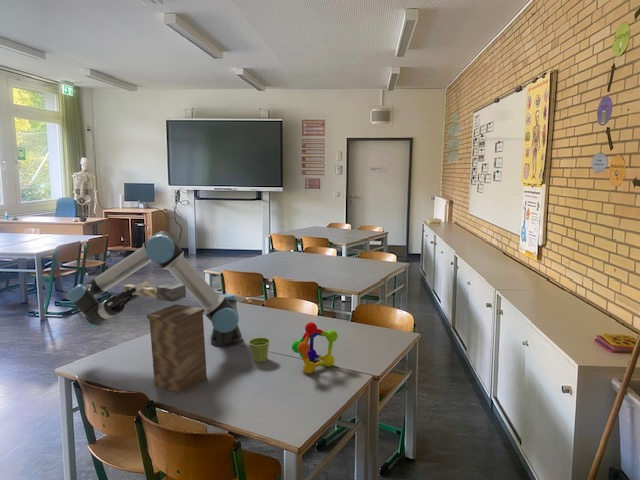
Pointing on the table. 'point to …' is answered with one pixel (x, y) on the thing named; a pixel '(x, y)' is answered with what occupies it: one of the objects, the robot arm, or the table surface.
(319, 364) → the molecular model
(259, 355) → the plant pot
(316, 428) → the table surface
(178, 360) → the stand
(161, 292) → the mallet
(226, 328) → the robot arm
